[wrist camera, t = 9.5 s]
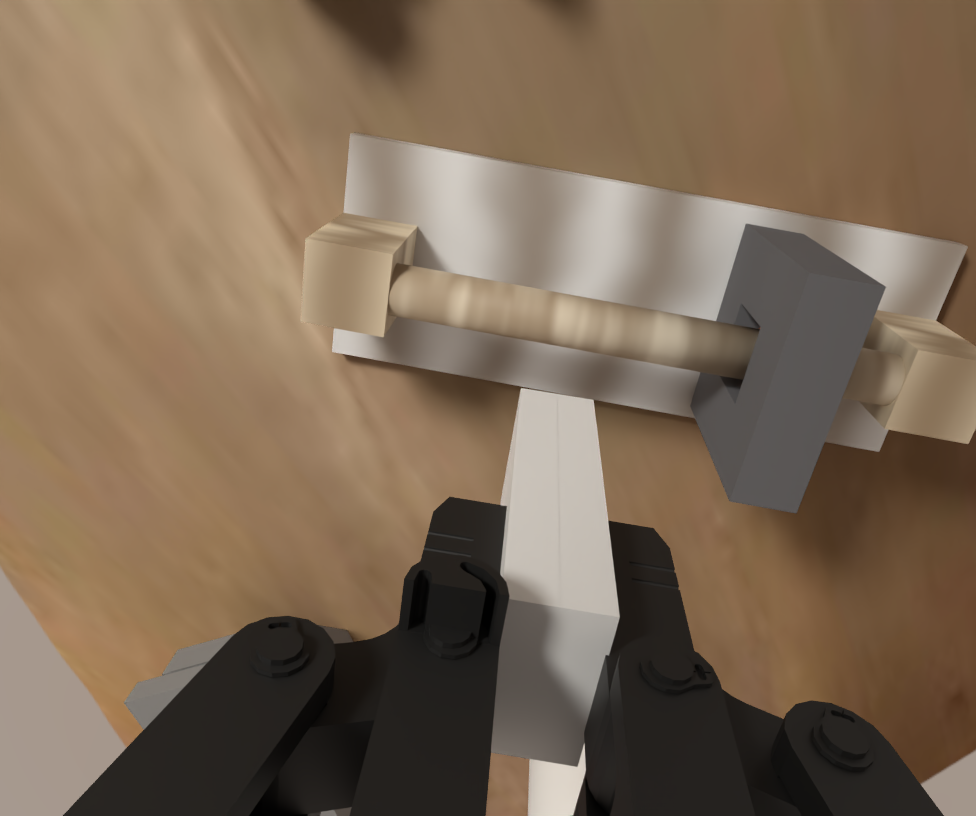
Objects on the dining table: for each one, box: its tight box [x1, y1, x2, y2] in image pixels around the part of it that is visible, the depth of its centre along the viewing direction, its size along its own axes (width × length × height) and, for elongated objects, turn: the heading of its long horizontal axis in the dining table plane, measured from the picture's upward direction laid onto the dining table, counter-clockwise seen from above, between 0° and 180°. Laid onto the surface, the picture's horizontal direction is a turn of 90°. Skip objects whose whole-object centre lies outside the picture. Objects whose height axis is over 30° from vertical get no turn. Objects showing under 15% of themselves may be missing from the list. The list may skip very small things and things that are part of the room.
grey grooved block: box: [124, 625, 353, 816], centre depth 51 cm, size 25×8×11 cm, turn 21°
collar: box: [690, 224, 886, 513], centre depth 36 cm, size 3×10×10 cm, turn 170°
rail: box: [300, 133, 976, 452], centre depth 38 cm, size 32×12×8 cm, turn 80°
